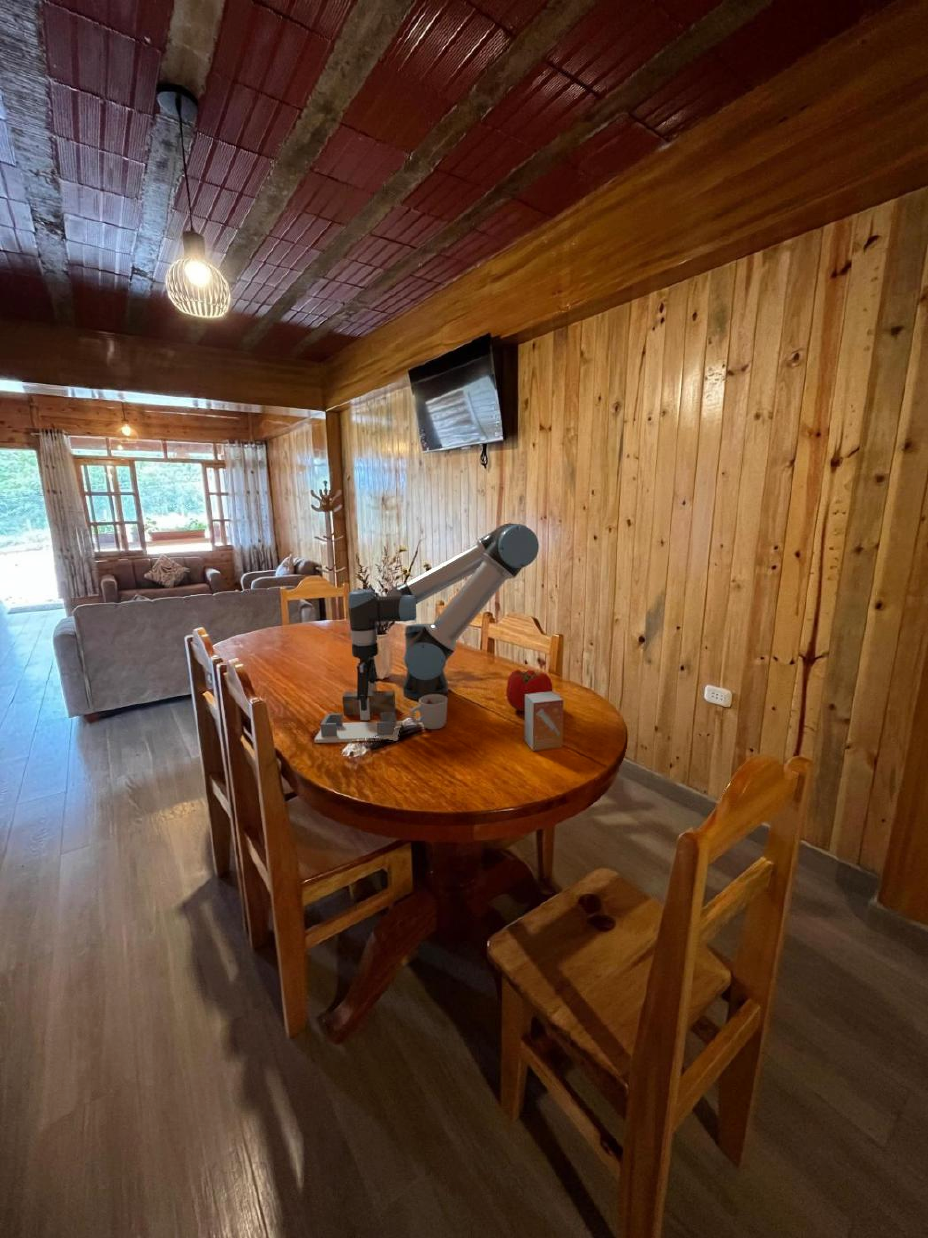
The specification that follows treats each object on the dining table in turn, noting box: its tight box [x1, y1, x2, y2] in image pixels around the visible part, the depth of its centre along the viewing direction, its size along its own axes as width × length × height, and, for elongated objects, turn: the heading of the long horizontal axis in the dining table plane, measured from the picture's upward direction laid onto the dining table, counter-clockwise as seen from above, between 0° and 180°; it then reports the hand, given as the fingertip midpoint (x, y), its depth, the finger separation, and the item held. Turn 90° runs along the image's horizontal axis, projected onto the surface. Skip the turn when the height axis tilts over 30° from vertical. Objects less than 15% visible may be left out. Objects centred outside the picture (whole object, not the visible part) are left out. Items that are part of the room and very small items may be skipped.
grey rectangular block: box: [341, 689, 396, 716], centre depth 152 cm, size 15×4×6 cm, turn 90°
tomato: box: [505, 669, 554, 712], centre depth 150 cm, size 13×14×12 cm
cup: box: [410, 694, 448, 730], centre depth 140 cm, size 11×8×8 cm
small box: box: [524, 690, 564, 752], centre depth 127 cm, size 8×6×13 cm
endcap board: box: [314, 711, 403, 744], centre depth 137 cm, size 22×10×4 cm, turn 90°
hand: (369, 710), depth 152 cm, fingers open, 12 cm apart
